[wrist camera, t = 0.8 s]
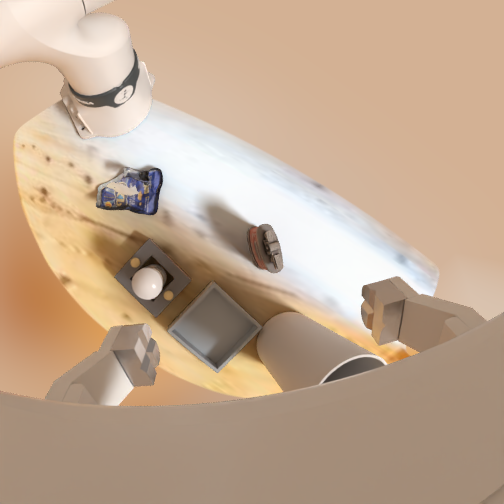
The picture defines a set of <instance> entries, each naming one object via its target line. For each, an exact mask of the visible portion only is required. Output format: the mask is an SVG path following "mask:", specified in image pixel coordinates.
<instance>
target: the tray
mask: <svg viewBox="0 0 504 504" xmlns="http://www.w3.org/2000/svg"><path fill="white" fill-rule="evenodd" d="M262 328H263V327H262V326H261V325H260V324H259V323H258V322H257V321H256V320H255V319H254V318H253V317H251V316H250V315H249V314H248V313H247V312H246V311H245V310H244V309H243V308H242V307H241V306H240V305H239V304H237V303H236V302H235V301H234V300H233V299H232V298H231V297H230V296H229V295H228V294H227V293H226V292H225V291H224V290H223V289H222V288H220V287H219V286H218V285H217V284H216V283H215V282H214V281H213V280H212V281H211V282H210V283H209V284H208V286H207V287H206V288H205V289H204V290H203V291H202V292H201V293H200V294H199V295H198V296H197V297H196V298H195V299H194V300H193V301H192V302H191V303H190V304H189V305H188V306H187V307H186V308H185V309H184V311H183V312H182V313H181V314H180V315H179V316H178V317H177V318H176V319H175V320H174V321H173V322H172V323H171V324H170V325H169V326H168V329H167V332H168V333H169V334H170V335H172V336H173V337H174V338H175V339H176V340H177V341H179V342H180V343H181V344H182V345H183V346H184V347H186V348H187V349H188V350H189V351H190V352H192V353H193V354H194V355H195V356H196V357H198V358H199V359H200V360H201V361H203V362H204V363H205V364H206V365H208V366H209V367H210V368H211V369H213V370H214V371H215V372H216V373H218V372H219V371H220V370H221V369H222V368H223V367H224V366H225V365H226V364H227V363H228V362H229V361H230V360H231V359H232V358H233V357H234V356H235V355H236V354H237V353H238V352H239V351H240V350H241V349H242V348H243V347H244V346H245V345H246V344H247V343H248V342H249V341H250V340H251V339H252V338H253V337H254V336H255V335H256V334H257V333H258V332H259V331H260V330H261V329H262Z"/></svg>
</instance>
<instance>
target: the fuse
mask: <svg viewBox="0 0 504 504" xmlns="http://www.w3.org/2000/svg"><path fill="white" fill-rule="evenodd" d="M166 279H167V276H166V272H165V270H164V269H163V268H162V267H161V266H160V265H157V264H150V265H148V266H146V267H145V268H142V269H140V270H139V271H137V272H136V273H135V274H134V276H133V278H132V288H133V291H134V292H135V294H136V295H137V296H138V297H140V298H142V299H145V300H150V299H153V298H155V297H157V296H158V295H159V293H160V292H161V290H162V287H163V286H164V284H165V282H166Z"/></svg>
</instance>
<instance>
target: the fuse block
mask: <svg viewBox="0 0 504 504" xmlns="http://www.w3.org/2000/svg"><path fill="white" fill-rule="evenodd" d="M152 256H153V257H154V258H155V259H156V260H157V261H158V262H159V263H160V264H161V265H162V266H163V267H164V268H165V269H166V270H167V271H168V272H169V273H170V274H171V275H172V276H173V277H174V279H173V280H172V281H171V282H170V283H169V284H168V285H167V286H166V288H165V289H164V290H163V291H162V292H161V293H160V294H159V295H158V296H157V297H156V298H153V299H150V300H145V299H142V298H140V297H138V296H137V295H136V294H135V292H134V291H133V288H132V278H133V276H134V274H135V273H136V272H137V271H139V270H140V268H141V267H142V266H143V265H144V264H145V263H146V262H147V261H148V260H149V259H150V258H151V257H152ZM115 278H116V279H117V280H118V281H119V282H120V283H121V284H122V285H123V286H124V287H125V288H126V289H127V290H128V291H129V292H130V293H131V294H132V295H133V296H134V297H135V298H136V299H137V300H138V301H139V302H140V303H141V304H142V305H143V306H144V307H145V308H146V309H147V310H148V311H149V312H150V313H151V314H152V315H154V316H155V317H157V316H158V315H159V314H160V313H161V312H162V311H163V310H164V309H165V308H166V307H167V306H168V305H169V304H170V303H171V301H172V300H173V299H174V298H175V297H176V296H177V295H178V294H179V293H180V292H181V291H182V290H183V289H184V288H185V287H186V286H187V285H188V284H189V283H190V282H191V278H190V277H189V276H188V275H187V274H186V273H185V272H184V271H183V270H182V269H181V268H180V267H179V266H178V265H177V264H176V263H175V262H174V261H173V260H172V259H171V258H170V257H169V256H168V255H167V254H166V253H165V252H164V251H163V250H162V249H161V248H160V247H159V246H158V245H157V244H156V243H155V242H154V241H153V240H152V239H148V240H147V241H146V242H145V244H144V245H143V246H142V247H141V248H140V249H139V250H138V251H137V252H136V253H135V254H134V255H133V256H132V258H131V259H130V260H129V261H128V262H127V263H126V264H125V265H124V266H123V268H122V269H121V270H120V271H119V272H118V273H117V274H116V275H115Z"/></svg>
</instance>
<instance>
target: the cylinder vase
mask: <svg viewBox="0 0 504 504" xmlns="http://www.w3.org/2000/svg"><path fill="white" fill-rule="evenodd" d="M257 352H258V355H259V357H260V359H261V361H262V362H263V364H264V365H265V366H266V368H267V369H268V371H269V372H270V374H271V375H272V376H273V378H274V379H275V381H276V382H277V383H278V385H279V386H280V387H281V389H282V390H283V392H287V391H292V390H297V389H301V388H306V387H310V386H315V385H319V384H323V383H327V382H331V381H335V380H339V379H342V378H346V377H349V376H353V375H356V374H360V373H363V372H366V371H370V370H373V369H376V368H379V367H382V366H385V365H388V364H387V363H386V362H385V361H384V360H383V359H382V358H380V357H379V356H377V355H375V354H373V353H371V352H369V351H368V350H366V349H364V348H362V347H360V346H358V345H357V344H355V343H353V342H351V341H349V340H347V339H346V338H344V337H342V336H340V335H338V334H337V333H335V332H333V331H331V330H329V329H328V328H326V327H324V326H322V325H321V324H319V323H317V322H315V321H313V320H312V319H310V318H308V317H306V316H305V315H303V314H300V313H297V312H284V313H280V314H278V315H276V316H274V317H272V318H271V319H270V320H268V321H267V322H266V323H265V325H264V326H263V328H262V329H261V330H260V332H259V335H258V338H257Z"/></svg>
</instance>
